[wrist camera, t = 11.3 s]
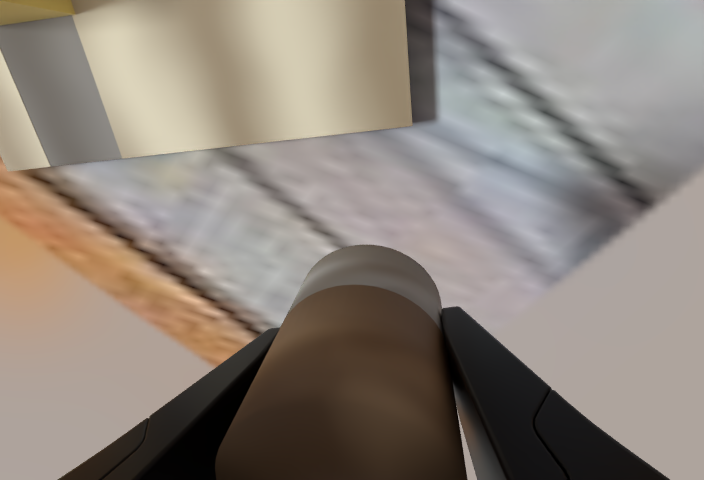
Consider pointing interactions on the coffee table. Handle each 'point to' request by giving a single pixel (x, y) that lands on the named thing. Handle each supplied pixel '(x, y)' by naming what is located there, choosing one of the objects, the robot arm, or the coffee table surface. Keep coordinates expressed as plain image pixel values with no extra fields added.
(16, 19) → the block
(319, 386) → the peg
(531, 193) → the coffee table surface
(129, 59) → the plywood panel
